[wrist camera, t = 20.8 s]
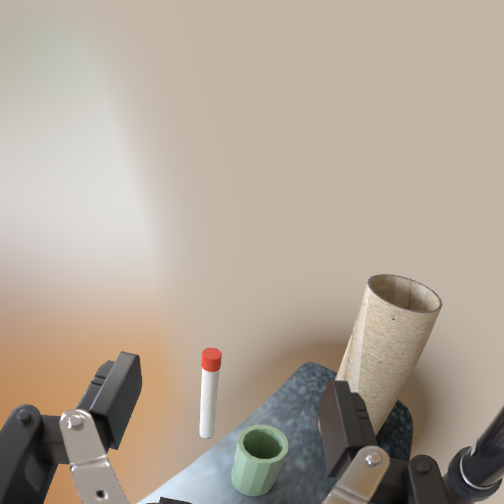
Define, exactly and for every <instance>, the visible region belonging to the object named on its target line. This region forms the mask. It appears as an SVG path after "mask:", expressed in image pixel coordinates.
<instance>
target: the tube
mask: <svg viewBox="0 0 504 504" xmlns="http://www.w3.org/2000/svg"><path fill="white" fill-rule="evenodd" d="M441 307H442V301H441V300H440V298H439V296H438V295H437V294H436V293H435V292H434V291H432V290H431V289H429V288H428V287H426V286H424V285H423V284H421V283H419V282H416V281H414V280H411V279H408V278H405V277H401V276H395V275H387V274H382V275H375V276H372V277H371V278H370V279H369V281H368V284H367V287H366V290H365V294H364V297H363V300H362V304H361V307H360V310H359V313H358V316H357V320H356V323H355V326H354V329H353V332H352V335H351V337H350V340H349V343H348V346H347V349H346V352H345V355H344V358H343V360H342V363H341V366H340V368H339V371H338V373H337V376H336V379H335V380H345V381H348V384H349V387H350V390H351V392H357V393H358V394H359V395H360V396H361V397H362V399H363V400H364V401H365V404H366V408H367V412H368V414H369V417H370V418H369V419H370V421H371V424H372V427H373V430H374V434H375V436H376V435H377V433H378V432H379V430H380V429H381V427H382V425H383V424H384V422H385V420H386V419H387V417H388V415H389V414H390V412H391V410H392V409H393V407H394V405H395V403H396V402H397V400H398V398H399V396H400V394H401V393H402V391H403V389H404V387H405V385H406V383H407V381H408V379H409V377H410V376H411V374H412V372H413V370H414V368H415V366H416V364H417V362H418V359H419V357H420V355H421V353H422V351H423V349H424V347H425V345H426V342H427V340H428V338H429V336H430V334H431V331H432V329H433V327H434V324H435V322H436V319H437V317H438V314H439V312H440V310H441ZM318 427H319V431H320V433H321V429H320V422H319V420H318Z"/></svg>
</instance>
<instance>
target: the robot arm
mask: <svg viewBox="0 0 504 504" xmlns="http://www.w3.org/2000/svg"><path fill="white" fill-rule="evenodd" d="M141 388H142V375H141V367H140V358H139V355H136V354H131V353H126V352H121V353H120V354H119V356H118V358H117V360H116V361H115V362H113V361H110V360H109V361H107V362H106V363H105V364H103V365H102V366H101V367H100V368H99V369H98V371H97V373H96V375H95V377H94V378H93V380H92V381H91V384H90V385H89V386H88V388H87V390H86V391H85V393H84V395H83V397H82V398H81V400H80V402H79V404H78V406H77V407H76V408H75V409H71V410H68V411H66V412H65V413H64V414H63V415H62V416H48V415H41V414H40V412H39V410H38V409H37V408H35V407H34V406H32V405H27V404H26V405H25V404H24V405H20V406H18V407H16V408H15V409H14V410H13V411H12V413H11V414H10V416H9V418H8V419H7V421H6V423H5V424H4V426H3V428H2V429H1V431H0V504H43V503H44V500H45V498H46V495H47V492H48V489H49V487H50V484H51V482H52V479H53V476H54V474H55V471H56V469H57V466H58V464H71V467H70V471H71V474H72V477H73V480H74V483H75V486H76V489H77V491H78V494H79V497H80V499H81V502H82V504H129V501H128V500H127V498H126V496H125V494H124V492H123V490H122V487H121V485H120V484H119V481H118V479H117V477H116V475H115V473H114V470H113V468H112V466H111V463H110V461H109V459H108V457H107V452H108V450H109V448H112V449H115V450H118V448H119V445H120V442H121V440H122V437H123V435H124V432H125V430H126V427H127V425H128V422H129V419H130V417H131V415H132V412H133V409H134V407H135V405H136V402H137V400H138V398H139V395H140V392H141ZM318 415H319V422H320V429H321V435H322V442H323V448H324V455H325V462H326V469H327V476H328V477H336V478H337V483H336V485H335V486H334V487H333V489H332V490H331V491H330V493H329V494H328V495H327V497H326V498H325V499H324V500H323V502H322V503H321V504H370V503H369V502H373V503H379V504H450V503H449V499H448V496H447V492H446V489H445V486H444V482H443V479H442V476H441V473H440V470H439V467H438V464H437V462H436V461H435V460H434V459H433V458H431V457H430V456H427V455H417V456H415V457H414V458H412V459H411V460H410V461H404V460H398V459H393V458H390V457H389V455H388V453H387V452H386V451H385V450H383V449H382V448H380V447H378V444H377V440H376V437H375V434H374V430H373V427H372V424H371V421H370V419H369V418H370V417H369V414H368V412H367V408H366V404H365V401H364V400H363V399H362V397H361V396H360V395H359V394H358V393H357V392H351V390H350V387H349V384H348V381H345V380H329V382H328V384H327V387H326V389H325V392H324V394H323V397H322V399H321V402H320V405H319V412H318ZM458 473H459V476H460V478H461V480H462V482H463V483H464V484H465V485H466V486H467V487H469V488H470V489H472V490H475V491H486V490H489V489H490V488H492V487H493V486H494V485H495V484H496V483H497V482H498V481H500V480H501V479H502V478H503V477H504V405H503V406H502V408H501V409H500V411H499V412H498V413H497V415H496V416H495V417H494V419H493V420H492V421H491V423H490V424H489V425H488V427H487V428H486V430H484V432H483V433H482V434H481V436H480V437H479V438H478V439H477V438H476V439H475V440H474V442H473V445H472V446H471V447H470V449H469V450H468V451H467V452H466V453H465V454H464V455H463V456H462V457H461V458H460V460H459V463H458ZM147 504H192V503H189V502H184V501H179V500H174V499H169V498H164V497H160V501H159V503H147Z"/></svg>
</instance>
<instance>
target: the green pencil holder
mask: <svg viewBox="0 0 504 504" xmlns="http://www.w3.org/2000/svg"><path fill="white" fill-rule="evenodd" d="M288 447H289V443H288V441H287V438H286V436H285V435H284V434H283V433H282V432H281V431H280V430H278V429H277V428H274V427H271V426H269V425H255V426H251V427H248V428H246V429H245V430H244V431H243V432H242V433H241V434H240V436H239V439H238V442H237V447H236V453H235V458H234V463H233V469H232V474H231V482H232V485H233V486H234V488H235V489H236V490H237V491H238V492H240V493H241V494H244V495H246V496H253V497H254V496H261V495H264V494H266V493H267V492H268V491H269V490H270V489H271V488H272V486H273V485H274V483H275V481H276V478H277V476H278V474H279V471H280V469H281V467H282V464H283V462H284V460H285V457H286V455H287V452H288Z"/></svg>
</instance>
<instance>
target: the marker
mask: <svg viewBox="0 0 504 504" xmlns="http://www.w3.org/2000/svg"><path fill="white" fill-rule="evenodd" d="M221 356H222V354H221V352H220V351H219V350H218V349H215V348H207V349H205V350H204V351H203V353H202V387H201V412H200V435H201V437H203V438H205V439H209V438H211V437H212V436H213V434H214V422H215V411H216V400H217V389H218V378H219V369H220V366H221Z"/></svg>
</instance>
